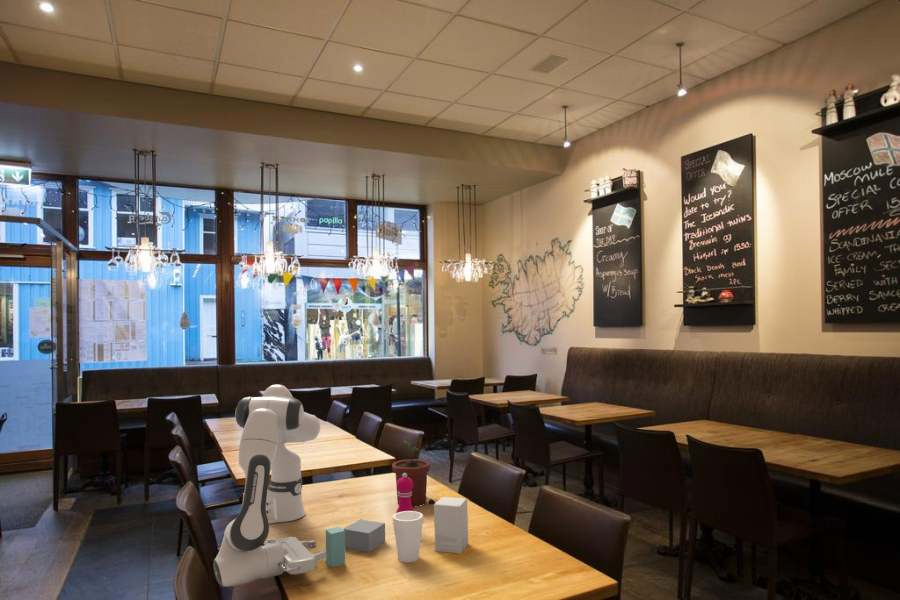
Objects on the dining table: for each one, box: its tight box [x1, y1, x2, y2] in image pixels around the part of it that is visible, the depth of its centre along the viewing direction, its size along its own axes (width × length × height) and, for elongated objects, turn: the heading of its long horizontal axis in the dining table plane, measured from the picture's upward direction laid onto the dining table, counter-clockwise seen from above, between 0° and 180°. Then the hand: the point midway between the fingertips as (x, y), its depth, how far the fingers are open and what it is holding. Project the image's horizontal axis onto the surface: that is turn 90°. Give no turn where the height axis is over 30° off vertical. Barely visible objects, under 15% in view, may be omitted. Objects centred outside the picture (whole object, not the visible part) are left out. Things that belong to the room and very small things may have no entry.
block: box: [325, 526, 346, 568], centre depth 173 cm, size 4×4×10 cm
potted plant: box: [391, 440, 436, 508], centre depth 233 cm, size 18×22×25 cm
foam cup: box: [392, 510, 424, 563], centre depth 175 cm, size 10×9×13 cm
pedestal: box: [342, 519, 386, 553], centre depth 187 cm, size 10×10×6 cm
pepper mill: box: [395, 473, 415, 514], centre depth 200 cm, size 7×7×20 cm
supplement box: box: [433, 496, 469, 554], centre depth 183 cm, size 9×9×15 cm
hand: (320, 548), depth 170 cm, fingers open, 8 cm apart
